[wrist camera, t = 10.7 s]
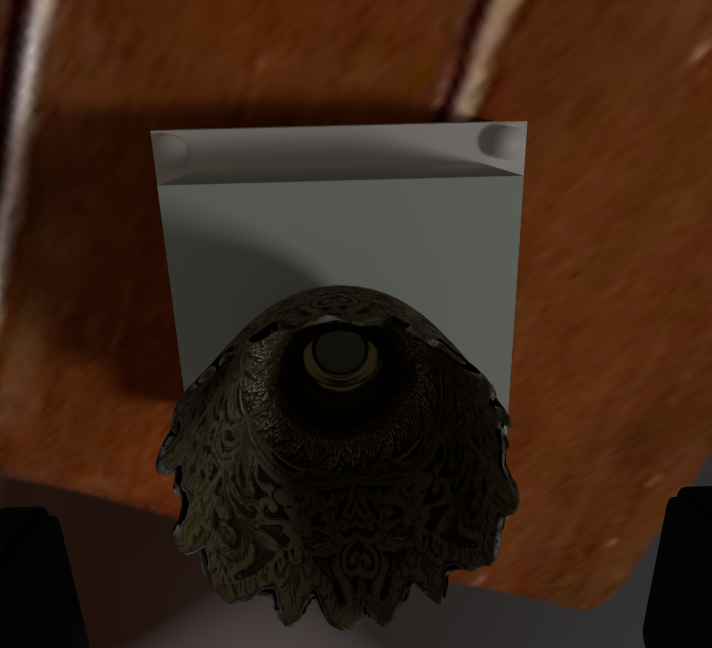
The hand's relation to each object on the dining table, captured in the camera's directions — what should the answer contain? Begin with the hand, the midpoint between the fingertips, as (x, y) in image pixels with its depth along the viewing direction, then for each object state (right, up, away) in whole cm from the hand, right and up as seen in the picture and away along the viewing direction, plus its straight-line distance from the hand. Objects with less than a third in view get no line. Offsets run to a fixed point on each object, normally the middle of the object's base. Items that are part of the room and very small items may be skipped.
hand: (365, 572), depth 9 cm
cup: (-1, +3, +11) cm, 11 cm away
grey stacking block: (-1, +6, +20) cm, 21 cm away
